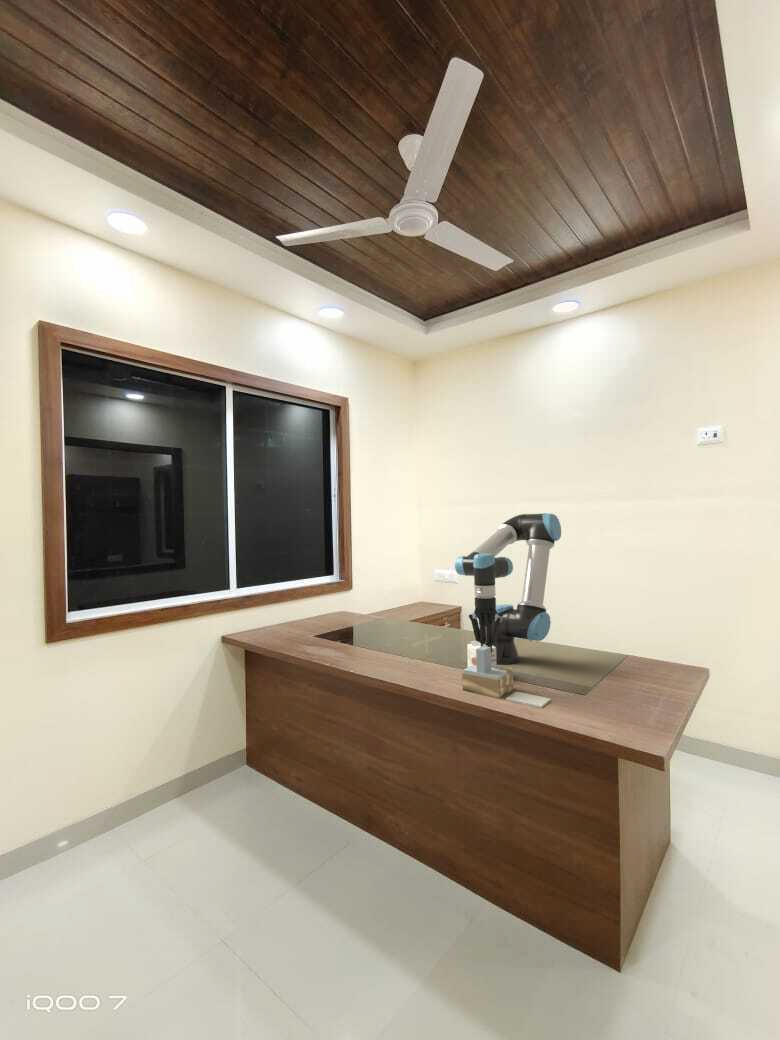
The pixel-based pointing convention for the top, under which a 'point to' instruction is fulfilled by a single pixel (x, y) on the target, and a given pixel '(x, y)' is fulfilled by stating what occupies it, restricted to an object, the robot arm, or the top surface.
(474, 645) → the ink box
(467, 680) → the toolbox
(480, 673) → the lid
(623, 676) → the top surface
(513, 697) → the mat
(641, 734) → the top surface
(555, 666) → the top surface
